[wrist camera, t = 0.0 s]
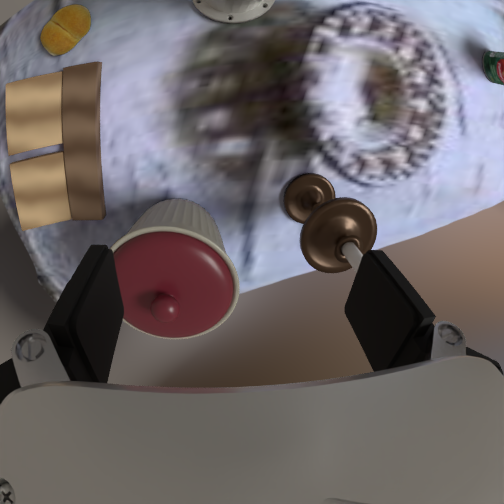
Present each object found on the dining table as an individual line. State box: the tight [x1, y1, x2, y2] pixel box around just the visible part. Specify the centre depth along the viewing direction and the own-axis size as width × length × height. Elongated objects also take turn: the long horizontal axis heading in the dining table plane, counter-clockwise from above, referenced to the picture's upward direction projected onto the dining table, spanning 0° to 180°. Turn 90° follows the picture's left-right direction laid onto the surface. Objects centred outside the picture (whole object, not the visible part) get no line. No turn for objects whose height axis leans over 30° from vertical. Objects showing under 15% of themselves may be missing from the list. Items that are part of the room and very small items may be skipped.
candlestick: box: [284, 173, 377, 273], centre depth 34 cm, size 11×11×35 cm
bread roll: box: [40, 4, 91, 56], centre depth 26 cm, size 8×9×4 cm
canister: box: [110, 199, 239, 339], centre depth 40 cm, size 18×18×21 cm
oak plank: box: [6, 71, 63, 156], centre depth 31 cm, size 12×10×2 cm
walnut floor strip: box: [62, 62, 106, 220], centre depth 38 cm, size 26×6×2 cm, turn 174°
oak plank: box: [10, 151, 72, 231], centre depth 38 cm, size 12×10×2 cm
